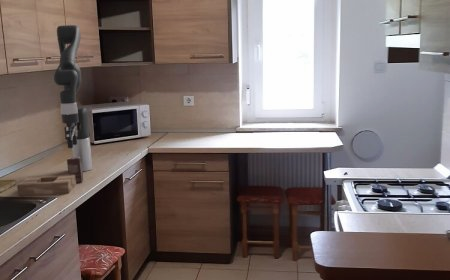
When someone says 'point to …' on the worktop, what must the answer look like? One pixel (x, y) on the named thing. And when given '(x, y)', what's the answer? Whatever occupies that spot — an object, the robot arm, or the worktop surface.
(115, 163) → the worktop surface
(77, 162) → the box
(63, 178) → the slot beam
